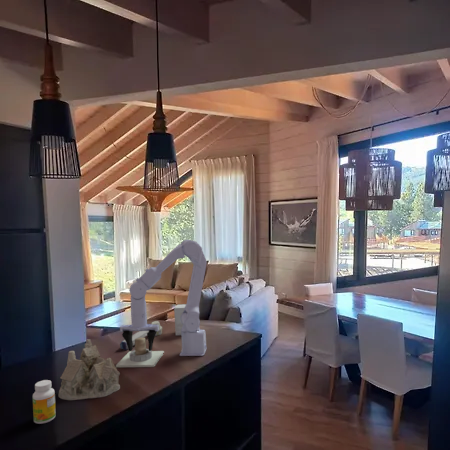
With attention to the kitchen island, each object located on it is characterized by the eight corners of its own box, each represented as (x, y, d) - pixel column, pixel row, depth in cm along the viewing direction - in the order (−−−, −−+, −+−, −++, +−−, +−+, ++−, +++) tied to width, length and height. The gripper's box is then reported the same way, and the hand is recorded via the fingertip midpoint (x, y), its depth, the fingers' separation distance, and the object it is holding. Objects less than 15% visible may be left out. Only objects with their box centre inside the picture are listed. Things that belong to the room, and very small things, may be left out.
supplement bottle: (29, 422, 99) (27, 386, 99) (45, 412, 104) (43, 377, 104) (44, 425, 98) (42, 388, 97) (60, 415, 103) (58, 380, 102)
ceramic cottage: (52, 392, 117) (53, 344, 116) (101, 377, 129) (102, 333, 128) (75, 411, 106) (76, 359, 106) (126, 392, 118) (127, 345, 118)
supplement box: (193, 330, 177) (192, 303, 177) (191, 335, 169) (189, 307, 169) (178, 330, 178) (177, 304, 177) (175, 335, 170) (173, 307, 170)
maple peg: (147, 355, 143) (146, 337, 143) (144, 359, 139) (143, 340, 139) (137, 355, 144) (136, 337, 144) (134, 359, 140) (133, 341, 140)
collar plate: (163, 352, 148) (163, 345, 148) (154, 366, 134) (153, 359, 134) (129, 353, 149) (129, 346, 149) (116, 367, 135) (115, 359, 135)
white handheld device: (117, 340, 154) (154, 317, 177) (120, 355, 155) (156, 330, 177) (127, 342, 152) (163, 318, 174) (129, 357, 153) (165, 331, 175)
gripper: (116, 317, 138) (118, 354, 138) (154, 316, 137) (156, 353, 137) (123, 312, 145) (124, 347, 145) (159, 311, 144) (161, 347, 144)
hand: (140, 350), depth 142 cm, fingers open, 7 cm apart
